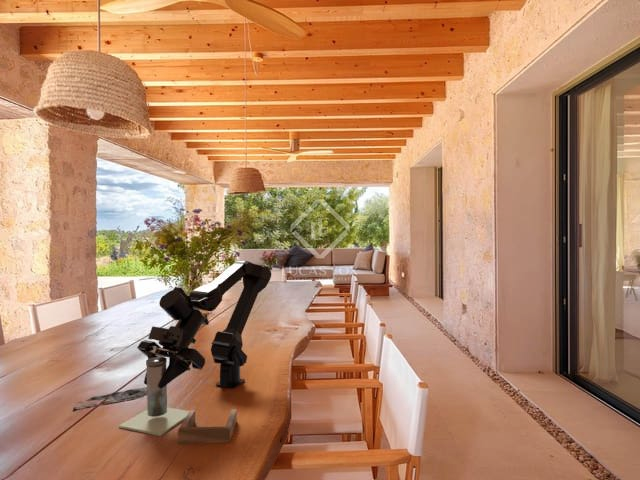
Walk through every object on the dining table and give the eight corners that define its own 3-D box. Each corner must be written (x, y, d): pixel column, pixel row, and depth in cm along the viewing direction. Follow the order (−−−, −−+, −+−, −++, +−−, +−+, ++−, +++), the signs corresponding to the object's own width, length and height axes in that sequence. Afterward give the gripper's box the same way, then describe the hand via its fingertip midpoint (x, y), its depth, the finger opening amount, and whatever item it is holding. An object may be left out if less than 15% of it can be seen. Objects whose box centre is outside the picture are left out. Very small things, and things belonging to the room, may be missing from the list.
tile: (154, 406, 113) (154, 405, 113) (193, 413, 109) (192, 411, 109) (119, 427, 101) (118, 425, 101) (160, 436, 97) (160, 433, 97)
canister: (163, 406, 108) (162, 355, 108) (170, 412, 105) (169, 360, 104) (144, 411, 105) (143, 359, 105) (150, 418, 102) (149, 364, 101)
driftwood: (155, 389, 126) (155, 382, 126) (158, 397, 120) (158, 390, 120) (74, 404, 117) (74, 396, 116) (73, 413, 111) (73, 405, 110)
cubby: (190, 422, 104) (190, 410, 104) (236, 421, 105) (236, 409, 104) (178, 443, 94) (178, 429, 94) (229, 442, 95) (229, 428, 94)
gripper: (142, 309, 112) (105, 363, 103) (196, 316, 103) (160, 376, 94) (166, 332, 119) (133, 384, 110) (218, 340, 110) (187, 398, 101)
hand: (152, 385), depth 103 cm, fingers closed on canister, 4 cm apart
